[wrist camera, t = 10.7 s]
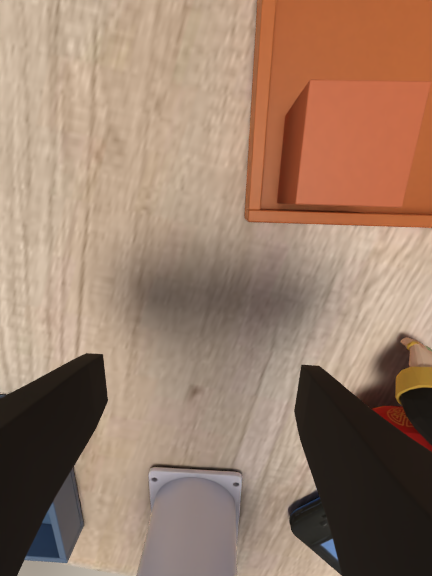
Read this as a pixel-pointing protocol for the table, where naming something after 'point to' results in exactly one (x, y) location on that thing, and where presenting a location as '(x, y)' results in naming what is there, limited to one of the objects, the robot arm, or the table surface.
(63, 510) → the blue tray
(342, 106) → the terracotta block
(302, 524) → the game console
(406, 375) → the figurine
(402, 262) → the table surface
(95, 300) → the table surface
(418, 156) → the orange tray
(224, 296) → the table surface
